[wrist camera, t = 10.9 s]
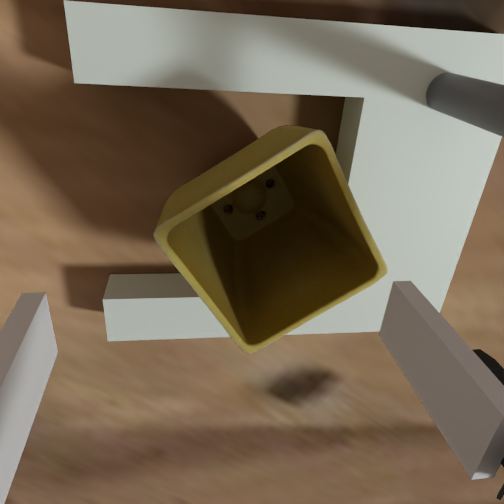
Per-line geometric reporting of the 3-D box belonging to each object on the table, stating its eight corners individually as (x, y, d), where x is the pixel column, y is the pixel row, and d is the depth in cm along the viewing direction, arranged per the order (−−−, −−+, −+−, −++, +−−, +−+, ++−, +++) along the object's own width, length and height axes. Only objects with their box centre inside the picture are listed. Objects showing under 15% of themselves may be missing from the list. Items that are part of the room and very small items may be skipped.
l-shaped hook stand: (114, 314, 31) (49, 580, 17) (78, 1, 22) (-155, -22, 7) (415, 305, 35) (581, 519, 20) (501, 34, 25) (942, 64, 10)
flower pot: (151, 173, 26) (147, 234, 18) (273, 96, 25) (324, 125, 17) (224, 273, 30) (246, 358, 22) (330, 210, 29) (391, 275, 22)
